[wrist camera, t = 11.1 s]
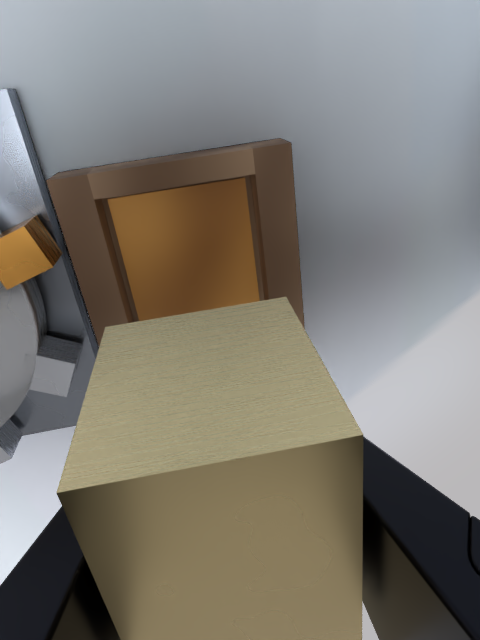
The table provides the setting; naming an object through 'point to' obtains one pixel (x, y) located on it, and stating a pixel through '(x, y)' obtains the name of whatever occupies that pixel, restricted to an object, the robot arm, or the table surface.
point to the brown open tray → (182, 232)
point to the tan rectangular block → (219, 480)
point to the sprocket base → (54, 284)
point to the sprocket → (28, 328)
